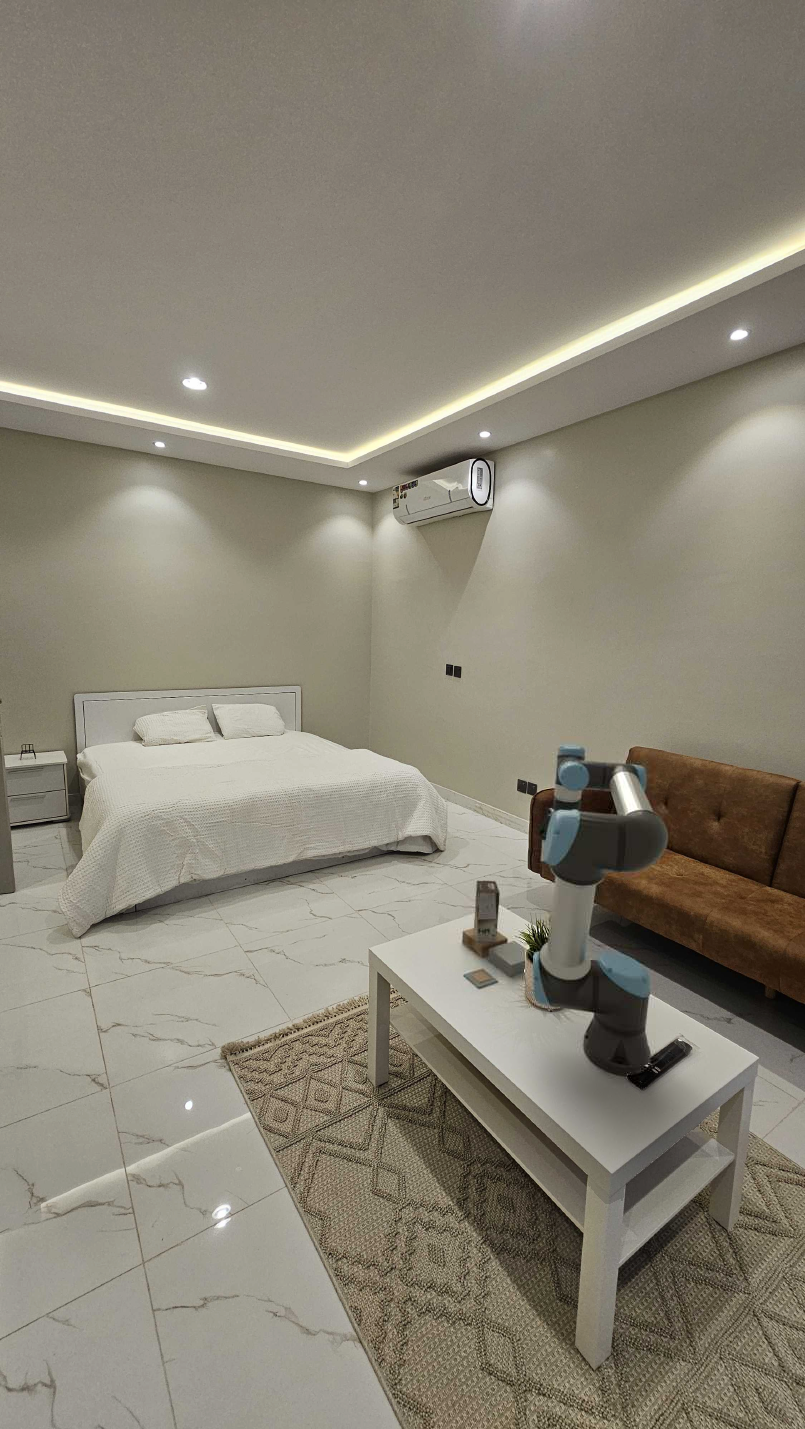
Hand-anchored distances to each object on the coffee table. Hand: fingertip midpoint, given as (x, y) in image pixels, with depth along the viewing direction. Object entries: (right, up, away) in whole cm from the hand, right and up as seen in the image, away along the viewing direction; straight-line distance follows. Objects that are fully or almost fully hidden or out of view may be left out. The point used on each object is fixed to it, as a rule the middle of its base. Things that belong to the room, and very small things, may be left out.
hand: (561, 868), depth 177 cm
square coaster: (-24, -31, -4) cm, 39 cm away
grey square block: (-14, -30, +4) cm, 33 cm away
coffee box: (-21, -24, +13) cm, 35 cm away
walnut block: (-21, -28, +14) cm, 38 cm away
